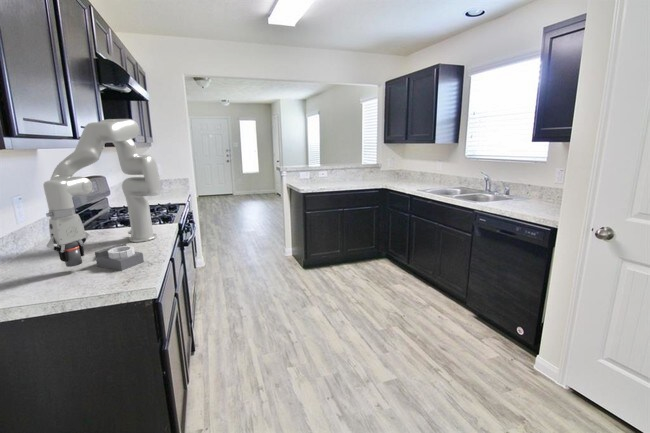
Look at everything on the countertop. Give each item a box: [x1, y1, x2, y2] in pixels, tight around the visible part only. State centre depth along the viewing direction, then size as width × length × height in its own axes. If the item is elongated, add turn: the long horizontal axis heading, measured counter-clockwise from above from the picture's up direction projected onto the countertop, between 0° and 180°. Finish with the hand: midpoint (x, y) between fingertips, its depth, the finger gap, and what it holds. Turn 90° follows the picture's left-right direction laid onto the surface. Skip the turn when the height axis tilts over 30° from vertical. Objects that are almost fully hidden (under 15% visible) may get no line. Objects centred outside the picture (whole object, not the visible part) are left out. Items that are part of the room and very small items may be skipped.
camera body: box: [94, 244, 145, 271], centre depth 138 cm, size 14×10×6 cm
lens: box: [64, 241, 83, 268], centre depth 130 cm, size 5×5×10 cm
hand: (72, 258), depth 131 cm, fingers closed on lens, 5 cm apart
